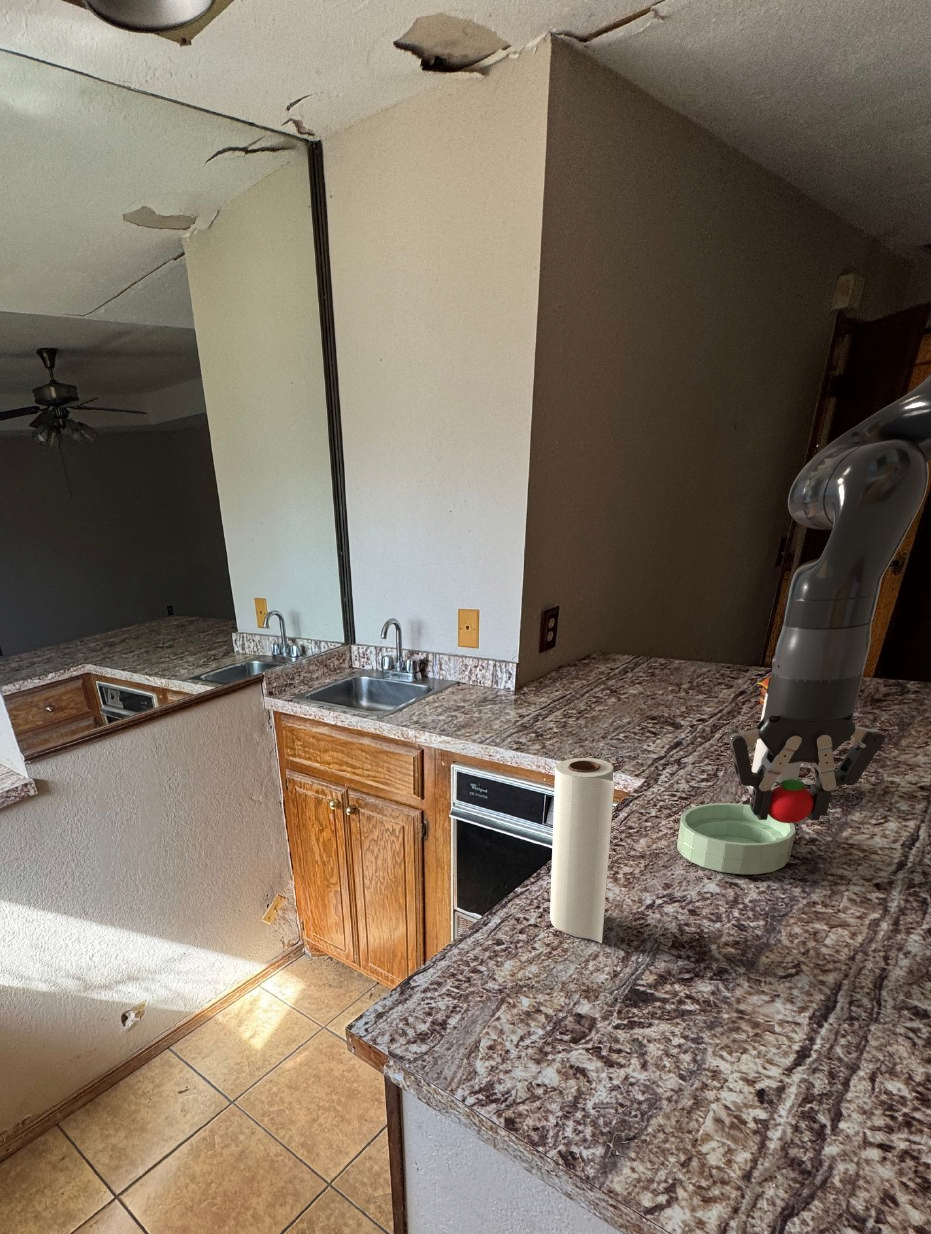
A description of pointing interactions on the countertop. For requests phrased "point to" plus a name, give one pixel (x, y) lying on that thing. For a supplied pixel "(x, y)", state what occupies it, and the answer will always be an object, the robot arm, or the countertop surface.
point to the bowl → (734, 839)
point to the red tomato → (790, 802)
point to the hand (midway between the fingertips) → (786, 816)
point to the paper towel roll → (581, 846)
